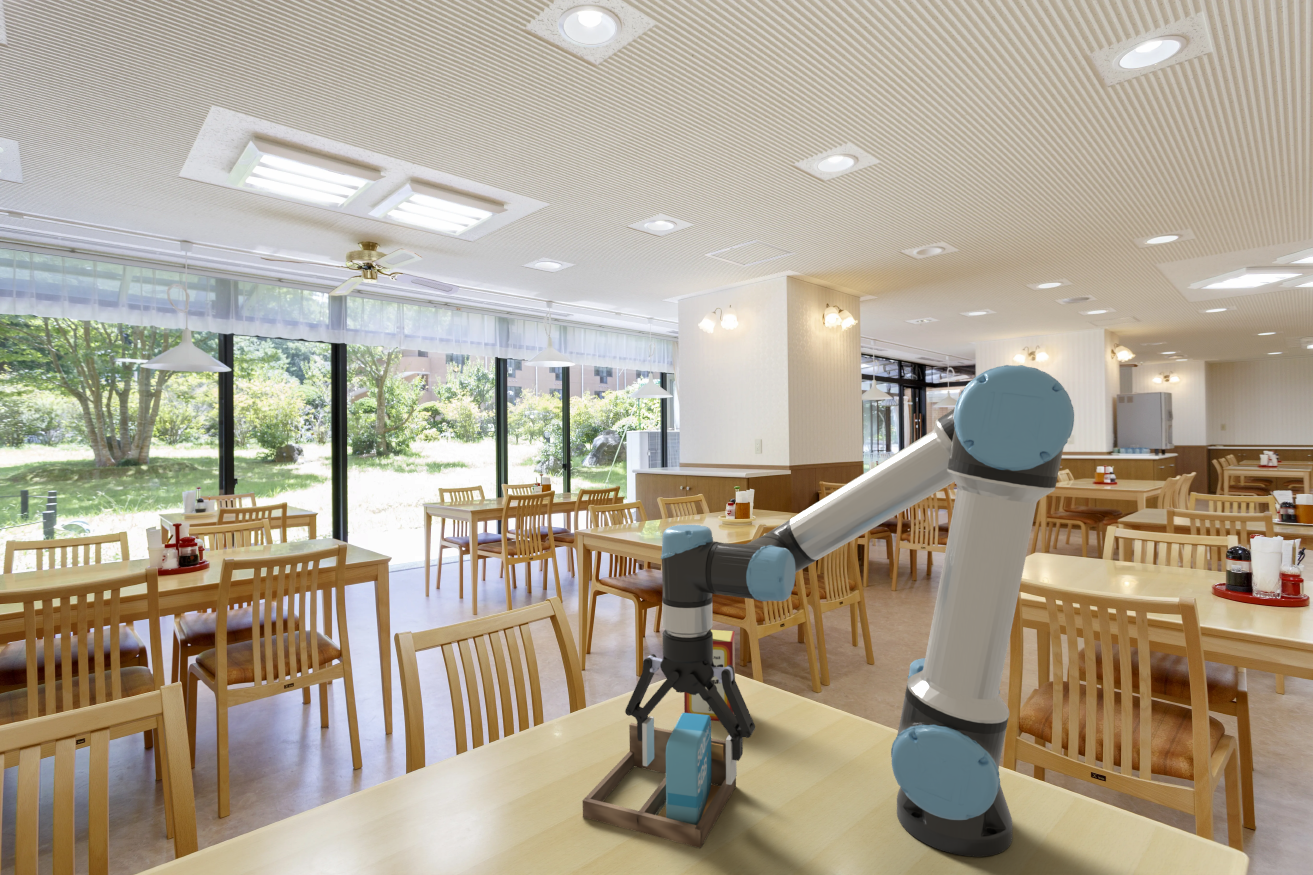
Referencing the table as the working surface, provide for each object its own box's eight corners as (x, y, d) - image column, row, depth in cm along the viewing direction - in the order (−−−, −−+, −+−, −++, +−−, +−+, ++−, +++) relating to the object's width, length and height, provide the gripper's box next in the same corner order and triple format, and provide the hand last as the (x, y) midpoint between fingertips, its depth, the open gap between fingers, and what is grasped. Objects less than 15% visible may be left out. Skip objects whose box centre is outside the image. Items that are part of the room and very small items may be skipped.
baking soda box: (684, 718, 129) (683, 637, 129) (688, 704, 136) (688, 627, 135) (733, 721, 128) (732, 639, 127) (735, 707, 134) (734, 629, 134)
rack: (736, 786, 105) (735, 742, 105) (700, 848, 90) (699, 797, 90) (631, 763, 112) (631, 722, 112) (582, 816, 97) (582, 769, 97)
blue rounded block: (697, 832, 93) (696, 747, 93) (666, 827, 94) (665, 744, 94) (711, 786, 104) (711, 711, 104) (684, 782, 106) (683, 708, 105)
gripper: (775, 631, 97) (775, 774, 98) (624, 613, 107) (626, 743, 108) (762, 647, 90) (763, 801, 91) (602, 627, 100) (604, 765, 101)
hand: (688, 770), depth 99 cm, fingers open, 13 cm apart
